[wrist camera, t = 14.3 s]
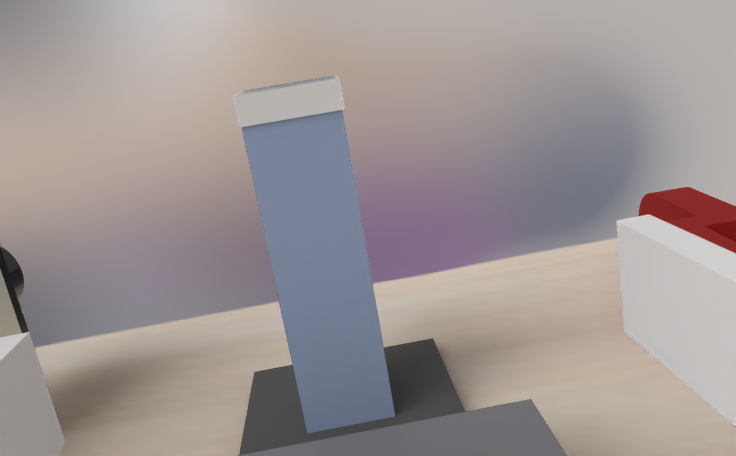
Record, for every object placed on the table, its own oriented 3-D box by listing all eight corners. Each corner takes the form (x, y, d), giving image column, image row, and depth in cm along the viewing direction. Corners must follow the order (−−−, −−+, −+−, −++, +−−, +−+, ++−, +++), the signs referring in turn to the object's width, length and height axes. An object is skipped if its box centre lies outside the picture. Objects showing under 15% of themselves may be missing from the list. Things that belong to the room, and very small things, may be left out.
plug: (305, 434, 29) (231, 96, 25) (306, 388, 33) (243, 90, 29) (397, 417, 29) (339, 78, 25) (387, 373, 33) (335, 75, 29)
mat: (236, 501, 26) (233, 488, 26) (256, 381, 36) (254, 372, 36) (478, 454, 27) (476, 441, 26) (434, 348, 36) (433, 338, 36)
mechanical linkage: (895, 347, 30) (901, 243, 28) (738, 372, 30) (736, 270, 28) (709, 244, 45) (707, 174, 44) (606, 261, 45) (601, 192, 44)
